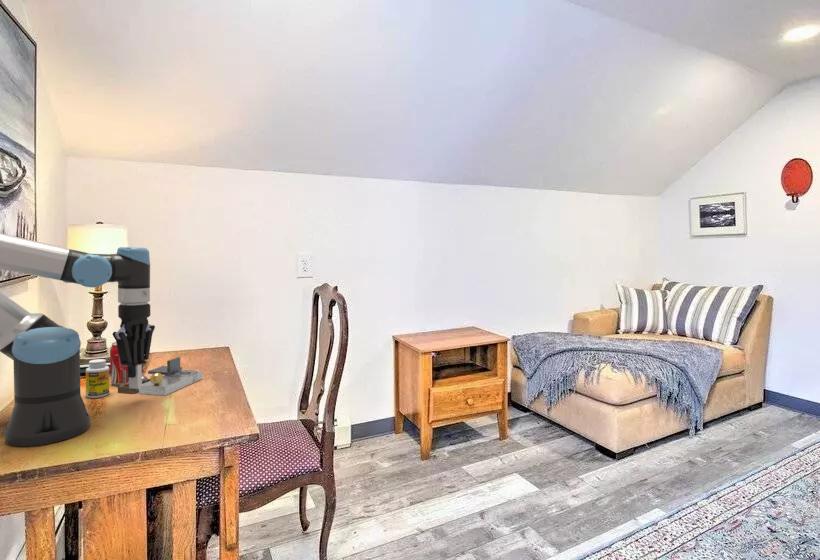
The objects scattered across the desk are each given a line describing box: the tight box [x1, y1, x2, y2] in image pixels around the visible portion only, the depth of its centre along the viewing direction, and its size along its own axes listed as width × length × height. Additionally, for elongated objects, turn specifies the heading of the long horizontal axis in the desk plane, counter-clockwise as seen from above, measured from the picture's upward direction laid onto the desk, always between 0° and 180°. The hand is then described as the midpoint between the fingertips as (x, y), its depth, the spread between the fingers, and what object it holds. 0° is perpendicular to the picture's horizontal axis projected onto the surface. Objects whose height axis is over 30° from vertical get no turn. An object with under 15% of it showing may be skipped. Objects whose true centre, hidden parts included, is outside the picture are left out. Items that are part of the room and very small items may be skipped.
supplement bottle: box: [85, 358, 110, 399], centre depth 127 cm, size 6×6×10 cm
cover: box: [147, 356, 183, 376], centre depth 144 cm, size 7×7×4 cm
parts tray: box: [117, 378, 150, 395], centre depth 134 cm, size 9×6×2 cm, turn 172°
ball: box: [142, 375, 149, 384], centre depth 136 cm, size 3×3×3 cm
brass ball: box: [149, 373, 164, 384], centre depth 131 cm, size 3×3×3 cm
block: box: [138, 369, 204, 396], centre depth 138 cm, size 18×8×2 cm, turn 172°
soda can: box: [109, 341, 129, 387], centre depth 139 cm, size 7×7×13 cm
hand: (135, 387), depth 123 cm, fingers closed
